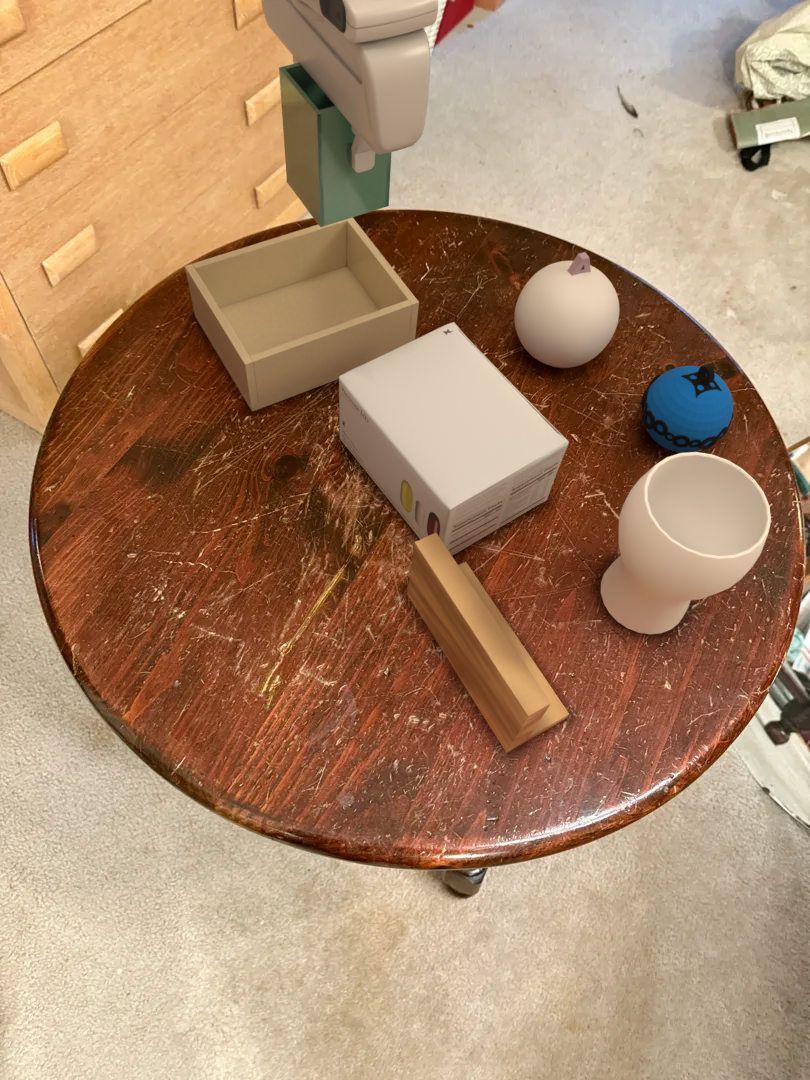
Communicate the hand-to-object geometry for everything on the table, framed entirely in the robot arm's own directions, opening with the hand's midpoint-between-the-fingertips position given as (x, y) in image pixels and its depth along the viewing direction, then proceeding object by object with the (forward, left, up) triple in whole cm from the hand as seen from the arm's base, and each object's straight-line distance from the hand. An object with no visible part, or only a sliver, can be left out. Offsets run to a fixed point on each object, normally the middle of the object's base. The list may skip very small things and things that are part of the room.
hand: (337, 138), depth 67 cm
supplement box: (+1, -19, -23) cm, 30 cm away
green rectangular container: (+4, 0, -4) cm, 6 cm away
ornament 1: (+20, -11, -23) cm, 33 cm away
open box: (-3, +3, -23) cm, 23 cm away
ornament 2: (+24, -26, -23) cm, 43 cm away
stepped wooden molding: (-6, -37, -23) cm, 44 cm away
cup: (+10, -39, -23) cm, 47 cm away
